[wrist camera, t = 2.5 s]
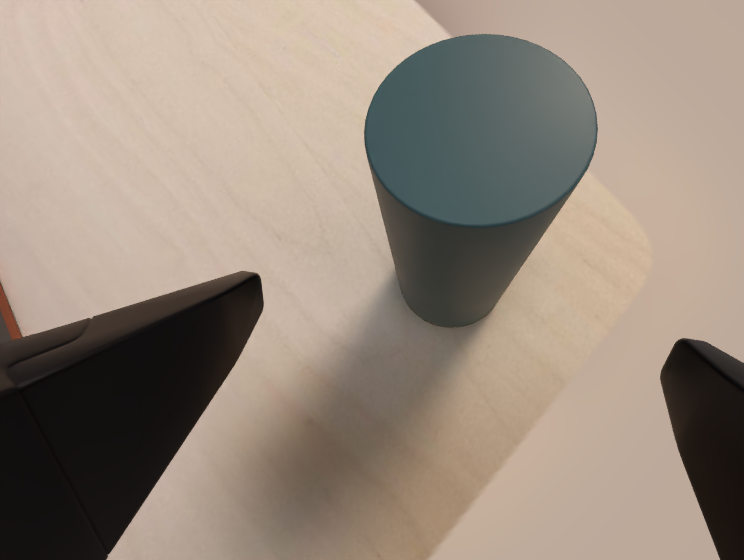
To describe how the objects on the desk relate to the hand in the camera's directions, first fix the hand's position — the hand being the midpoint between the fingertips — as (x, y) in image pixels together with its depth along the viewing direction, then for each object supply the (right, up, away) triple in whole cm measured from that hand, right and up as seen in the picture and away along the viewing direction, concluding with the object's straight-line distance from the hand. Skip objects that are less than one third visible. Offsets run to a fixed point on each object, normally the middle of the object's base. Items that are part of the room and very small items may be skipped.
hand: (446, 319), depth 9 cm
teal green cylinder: (+2, +1, +12) cm, 12 cm away
